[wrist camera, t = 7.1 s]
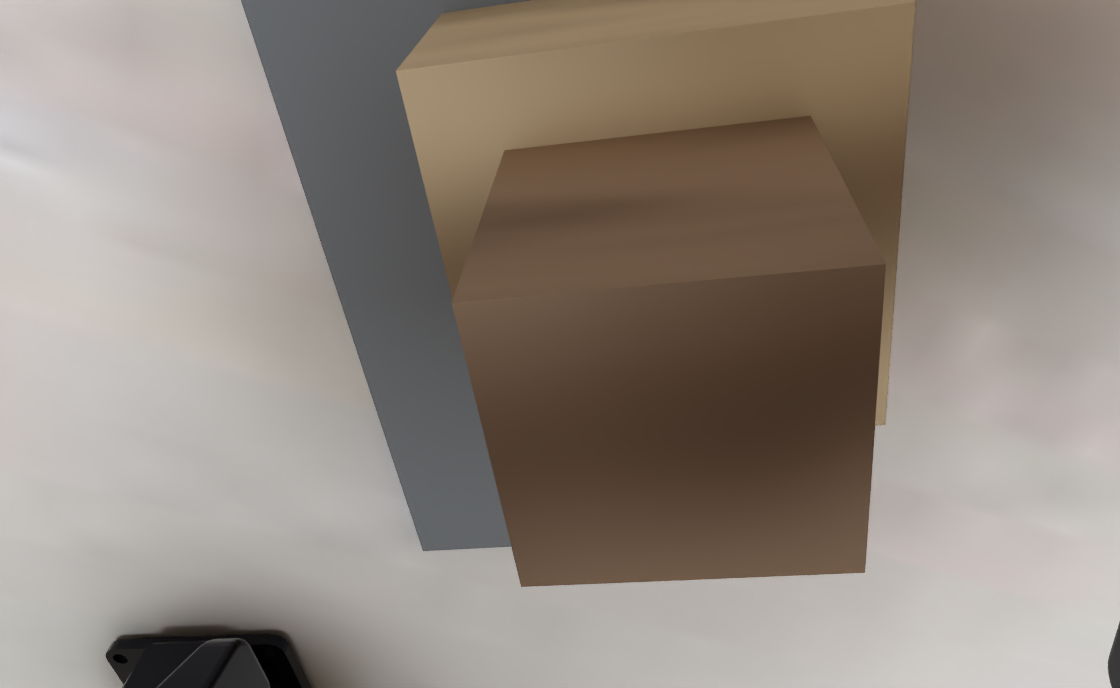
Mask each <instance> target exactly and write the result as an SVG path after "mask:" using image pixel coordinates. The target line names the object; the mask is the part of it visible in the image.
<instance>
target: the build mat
mask: <svg viewBox="0 0 1120 688" xmlns="http://www.w3.org/2000/svg"><path fill="white" fill-rule="evenodd" d="M524 1H531V0H241V2H242V5H243V8H244V11H245V14H246V17H247V20H248V23H249V26H250V29H251V32H252V35H253V38H254V41H255V44H256V47H257V50H258V53H259V56H260V59H261V62H262V65H263V68H264V71H265V74H266V77H267V80H268V83H269V86H270V89H271V92H272V95H273V98H274V101H275V104H276V107H277V111H278V114H279V117H280V120H281V123H282V126H283V129H284V132H285V135H286V138H287V141H288V144H289V147H290V150H291V153H292V156H293V159H294V162H295V165H296V168H297V171H298V174H299V177H300V180H301V183H302V186H303V189H304V192H305V195H306V198H307V201H308V204H309V207H310V210H311V213H312V216H313V219H314V222H315V226H316V229H317V232H318V235H319V238H320V241H321V244H322V247H323V250H324V253H325V256H326V259H327V262H328V265H329V268H330V271H331V274H332V277H333V280H334V283H335V286H336V289H337V292H338V295H339V298H340V301H341V304H342V307H343V310H344V313H345V316H346V319H347V322H348V325H349V328H350V331H351V334H352V337H353V340H354V344H355V347H356V350H357V353H358V356H359V359H360V362H361V365H362V368H363V371H364V374H365V377H366V380H367V383H368V386H369V389H370V392H371V395H372V398H373V401H374V404H375V407H376V410H377V413H378V416H379V419H380V422H381V425H382V428H383V431H384V434H385V437H386V440H387V443H388V446H389V449H390V452H391V455H392V459H393V462H394V465H395V468H396V471H397V474H398V477H399V480H400V483H401V486H402V489H403V492H404V495H405V498H406V501H407V504H408V507H409V510H410V513H411V516H412V519H413V522H414V525H415V528H416V531H417V534H418V537H419V540H420V543H421V546H422V549H423V551H432V550H451V549H471V548H491V547H511V543H510V539H509V535H508V531H507V526H506V522H505V518H504V514H503V510H502V506H501V502H500V498H499V494H498V490H497V486H496V482H495V478H494V474H493V470H492V465H491V461H490V457H489V453H488V449H487V445H486V441H485V437H484V433H483V429H482V425H481V421H480V417H479V413H478V408H477V404H476V400H475V396H474V392H473V388H472V384H471V380H470V376H469V372H468V368H467V364H466V360H465V356H464V352H463V347H462V343H461V339H460V335H459V331H458V327H457V323H456V319H455V315H454V311H453V307H452V300H453V299H452V295H451V291H450V287H449V283H448V279H447V275H446V271H445V267H444V263H443V259H442V255H441V251H440V247H439V243H438V239H437V235H436V231H435V227H434V223H433V219H432V215H431V211H430V207H429V203H428V199H427V195H426V191H425V187H424V183H423V179H422V175H421V170H420V166H419V162H418V158H417V154H416V150H415V146H414V142H413V138H412V134H411V130H410V126H409V122H408V118H407V114H406V110H405V106H404V102H403V98H402V94H401V90H400V86H399V82H398V78H397V74H396V70H397V69H398V68H399V66H400V65H401V64H402V63H403V61H404V60H405V59H406V58H407V56H408V55H409V54H410V53H411V51H412V50H413V49H414V48H415V46H416V45H417V44H418V43H419V41H420V40H421V39H422V38H423V36H424V35H425V34H426V33H427V31H428V30H429V29H430V28H431V26H432V25H433V24H434V23H435V21H436V20H437V19H438V18H439V16H440V15H441V14H442V13H446V12H453V11H460V10H468V9H475V8H482V7H489V6H496V5H503V4H510V3H517V2H524Z"/></svg>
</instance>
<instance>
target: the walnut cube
mask: <svg viewBox="0 0 1120 688" xmlns="http://www.w3.org/2000/svg"><path fill="white" fill-rule="evenodd" d="M885 272H886V263H885V261H884V259H883V257H882V255H881V253H880V251H879V249H878V247H877V245H876V243H875V241H874V239H873V237H872V236H871V234H870V232H869V230H868V228H867V226H866V224H865V222H864V220H863V218H862V216H861V214H860V212H859V210H858V208H857V206H856V204H855V202H854V200H853V198H852V196H851V194H850V192H849V190H848V188H847V186H846V184H845V182H844V180H843V178H842V177H841V175H840V173H839V171H838V169H837V167H836V165H835V163H834V161H833V159H832V157H831V155H830V153H829V151H828V149H827V147H826V145H825V143H824V141H823V139H822V137H821V135H820V133H819V131H818V129H817V127H816V125H815V123H814V121H813V119H812V118H811V116H803V117H794V118H786V119H777V120H768V121H759V122H750V123H741V124H733V125H724V126H715V127H706V128H697V129H688V130H680V131H671V132H662V133H653V134H644V135H635V136H627V137H618V138H609V139H600V140H591V141H583V142H574V143H565V144H556V145H547V146H538V147H530V148H521V149H512V150H504V153H503V156H502V159H501V161H500V164H499V167H498V170H497V173H496V176H495V179H494V182H493V185H492V187H491V190H490V193H489V196H488V199H487V202H486V205H485V208H484V210H483V213H482V216H481V219H480V222H479V225H478V228H477V231H476V234H475V236H474V239H473V242H472V245H471V248H470V251H469V254H468V257H467V260H466V262H465V265H464V268H463V271H462V274H461V277H460V280H459V283H458V286H457V288H456V291H455V294H454V297H453V300H452V307H453V311H454V315H455V319H456V323H457V327H458V331H459V335H460V339H461V343H462V347H463V352H464V356H465V360H466V364H467V368H468V372H469V376H470V380H471V384H472V388H473V392H474V396H475V400H476V404H477V408H478V413H479V417H480V421H481V425H482V429H483V433H484V437H485V441H486V445H487V449H488V453H489V457H490V461H491V465H492V470H493V474H494V478H495V482H496V486H497V490H498V494H499V498H500V502H501V506H502V510H503V514H504V518H505V522H506V526H507V531H508V535H509V539H510V543H511V547H512V551H513V555H514V559H515V563H516V567H517V571H518V575H519V579H520V583H521V587H526V586H551V585H575V584H599V583H623V582H648V581H672V580H696V579H720V578H745V577H769V576H793V575H817V574H842V573H865V564H866V549H867V534H868V520H869V505H870V491H871V476H872V462H873V447H874V433H875V418H876V403H877V389H878V374H879V360H880V345H881V331H882V316H883V301H884V287H885Z"/></svg>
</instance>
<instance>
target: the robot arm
mask: <svg viewBox="0 0 1120 688" xmlns="http://www.w3.org/2000/svg"><path fill="white" fill-rule="evenodd" d="M106 658H107V660H108V662H109V663H110V665H111V666H112V668H113V669H114V671H115V672H116V673H117V675H118V676H119V678H120V679H121V681H122V682H123V684H124V686H123V688H311V687H310V685H309V683H308V681H307V679H306V677H305V675H304V673H303V671H302V669H301V667H300V665H299V663H298V661H297V659H296V657H295V655H294V652H293V650H292V648H291V646H290V644H289V643H288V641H287V640H286V639H284V638H283V637H281V636H278V635H274V634H261V635H234V636H207V637H181V638H154V639H127V640H116V641H114V642H113V643H112V644H111V646H110V648H109V649H108V651H107V653H106ZM1108 673H1109V679H1110V683H1111V686H1112V688H1120V623H1119V626H1118V629H1117V632H1116V636H1115V639H1114V642H1113V645H1112V649H1111V652H1110V655H1109V659H1108Z"/></svg>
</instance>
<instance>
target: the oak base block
mask: <svg viewBox="0 0 1120 688" xmlns="http://www.w3.org/2000/svg"><path fill="white" fill-rule="evenodd" d="M915 5H916V2H915V1H914V0H531V1H524V2H517V3H510V4H503V5H496V6H489V7H482V8H475V9H468V10H460V11H453V12H446V13H442V14H441V15H440V16H439V18H438V19H437V20H436V21H435V23H434V24H433V25H432V26H431V28H430V29H429V30H428V31H427V33H426V34H425V35H424V36H423V38H422V39H421V40H420V41H419V43H418V44H417V45H416V46H415V48H414V49H413V50H412V51H411V53H410V54H409V55H408V56H407V58H406V59H405V60H404V61H403V63H402V64H401V65H400V66H399V68H398V69H397V70H396V74H397V78H398V82H399V86H400V90H401V94H402V98H403V102H404V106H405V110H406V114H407V118H408V122H409V126H410V130H411V134H412V138H413V142H414V146H415V150H416V154H417V158H418V162H419V166H420V170H421V175H422V179H423V183H424V187H425V191H426V195H427V199H428V203H429V207H430V211H431V215H432V219H433V223H434V227H435V231H436V235H437V239H438V243H439V247H440V251H441V255H442V259H443V263H444V267H445V271H446V275H447V279H448V283H449V287H450V291H451V295H452V299H453V297H454V294H455V291H456V288H457V286H458V283H459V280H460V277H461V274H462V271H463V268H464V265H465V262H466V260H467V257H468V254H469V251H470V248H471V245H472V242H473V239H474V236H475V234H476V231H477V228H478V225H479V222H480V219H481V216H482V213H483V210H484V208H485V205H486V202H487V199H488V196H489V193H490V190H491V187H492V185H493V182H494V179H495V176H496V173H497V170H498V167H499V164H500V161H501V159H502V156H503V153H504V150H512V149H521V148H530V147H538V146H547V145H556V144H565V143H574V142H583V141H591V140H600V139H609V138H618V137H627V136H635V135H644V134H653V133H662V132H671V131H680V130H688V129H697V128H706V127H715V126H724V125H733V124H741V123H750V122H759V121H768V120H777V119H786V118H794V117H803V116H811V118H812V119H813V121H814V123H815V125H816V127H817V129H818V131H819V133H820V135H821V137H822V139H823V141H824V143H825V145H826V147H827V149H828V151H829V153H830V155H831V157H832V159H833V161H834V163H835V165H836V167H837V169H838V171H839V173H840V175H841V177H842V178H843V180H844V182H845V184H846V186H847V188H848V190H849V192H850V194H851V196H852V198H853V200H854V202H855V204H856V206H857V208H858V210H859V212H860V214H861V216H862V218H863V220H864V222H865V224H866V226H867V228H868V230H869V232H870V234H871V236H872V237H873V239H874V241H875V243H876V245H877V247H878V249H879V251H880V253H881V255H882V257H883V259H884V261H885V263H886V272H885V287H884V301H883V316H882V331H881V345H880V360H879V374H878V389H877V403H876V418H875V425H885V422H886V408H887V394H888V380H889V366H890V352H891V338H892V324H893V311H894V297H895V283H896V269H897V255H898V241H899V227H900V213H901V199H902V185H903V172H904V158H905V144H906V130H907V116H908V102H909V88H910V74H911V60H912V46H913V33H914V19H915Z"/></svg>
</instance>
